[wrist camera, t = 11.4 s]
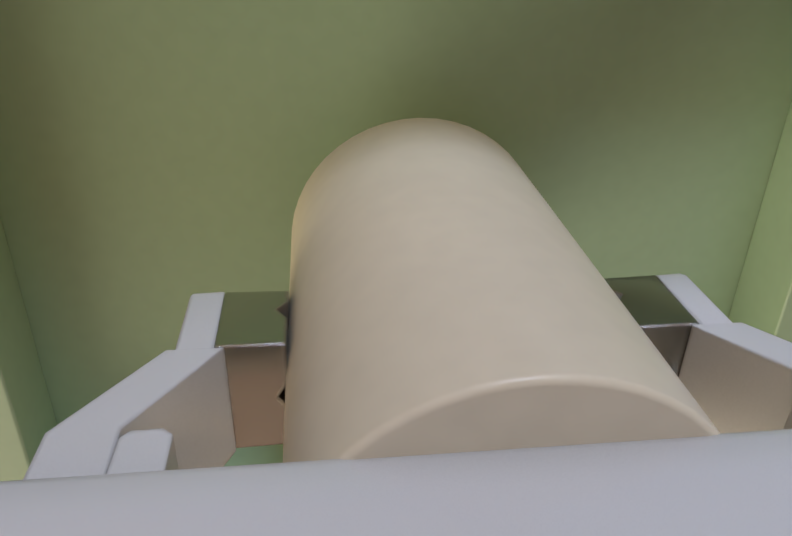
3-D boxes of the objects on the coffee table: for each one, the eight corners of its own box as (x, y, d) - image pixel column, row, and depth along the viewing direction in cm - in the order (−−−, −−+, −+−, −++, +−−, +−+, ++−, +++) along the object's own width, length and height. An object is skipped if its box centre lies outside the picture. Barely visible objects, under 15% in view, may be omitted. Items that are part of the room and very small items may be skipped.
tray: (876, -136, 14) (976, -139, 12) (713, 404, 20) (760, 463, 18) (-135, -164, 12) (-229, -173, 10) (42, 444, 18) (8, 516, 16)
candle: (549, 114, 13) (810, 363, 6) (521, 332, 16) (691, 685, 9) (284, 118, 13) (259, 394, 6) (297, 343, 15) (291, 729, 8)
